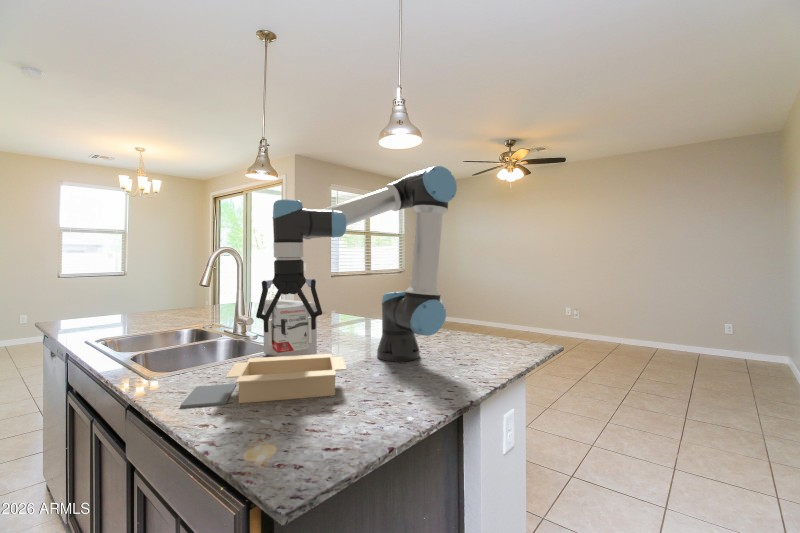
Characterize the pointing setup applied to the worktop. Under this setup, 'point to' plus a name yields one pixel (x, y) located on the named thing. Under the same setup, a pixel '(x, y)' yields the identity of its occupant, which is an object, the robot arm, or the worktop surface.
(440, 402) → the worktop surface
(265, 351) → the bevelled white case
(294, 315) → the ink box
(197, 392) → the mat
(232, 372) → the carton
